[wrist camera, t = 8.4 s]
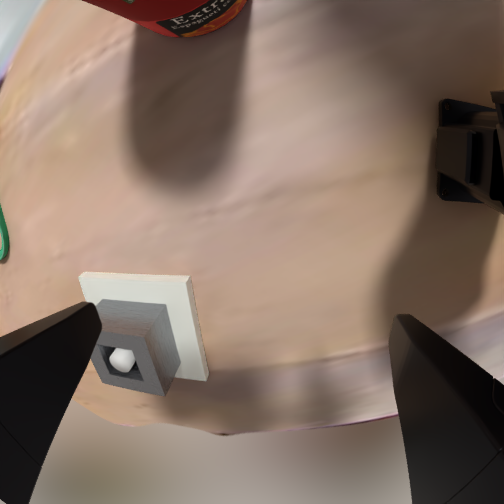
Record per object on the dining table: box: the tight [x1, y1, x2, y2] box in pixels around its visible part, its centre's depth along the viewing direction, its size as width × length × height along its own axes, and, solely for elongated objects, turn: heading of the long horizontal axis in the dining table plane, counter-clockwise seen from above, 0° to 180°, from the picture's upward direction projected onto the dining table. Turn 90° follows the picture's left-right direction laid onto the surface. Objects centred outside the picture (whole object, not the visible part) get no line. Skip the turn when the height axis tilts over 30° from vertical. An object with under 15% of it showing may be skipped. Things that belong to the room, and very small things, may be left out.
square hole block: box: [91, 299, 181, 396], centre depth 22 cm, size 6×6×4 cm
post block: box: [78, 272, 209, 381], centre depth 23 cm, size 10×10×5 cm
